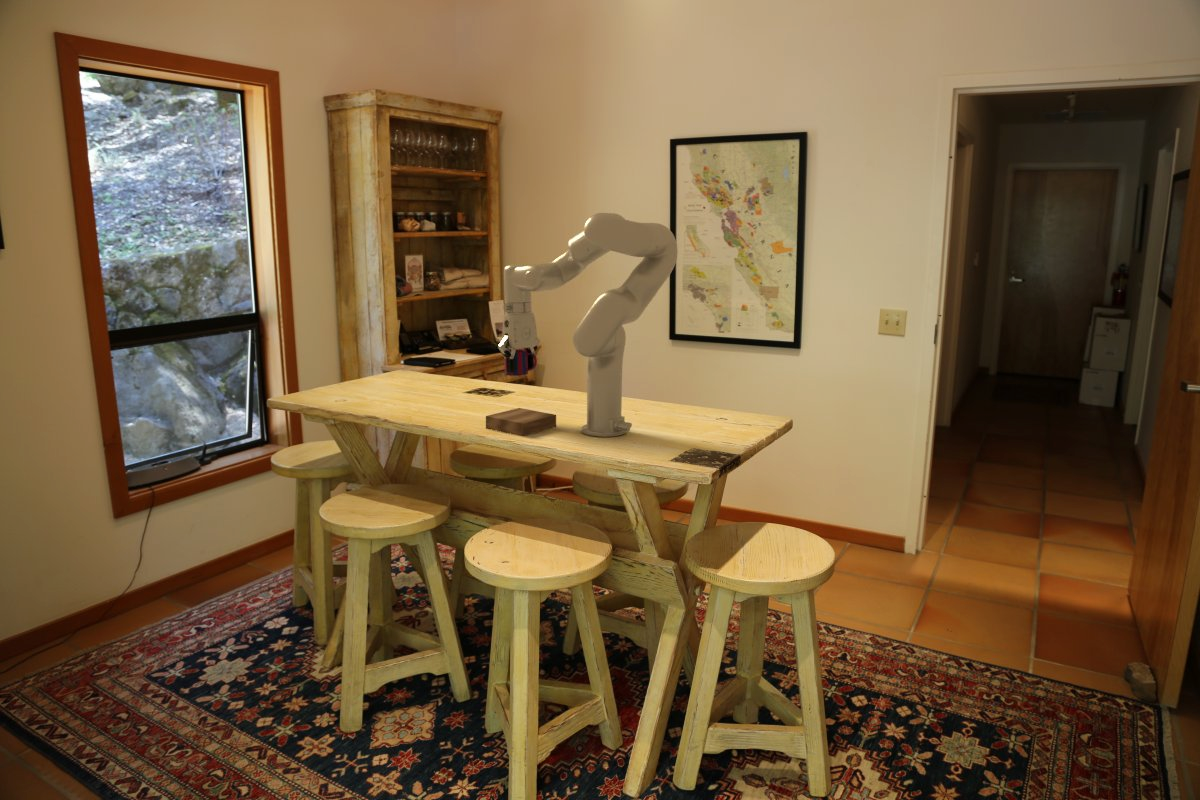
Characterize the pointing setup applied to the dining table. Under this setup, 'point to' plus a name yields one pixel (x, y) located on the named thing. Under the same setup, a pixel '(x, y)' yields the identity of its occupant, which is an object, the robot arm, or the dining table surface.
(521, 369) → the mug
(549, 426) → the walnut block
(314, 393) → the dining table surface
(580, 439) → the dining table surface
